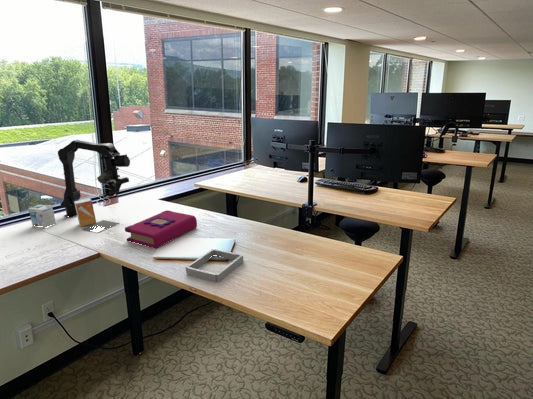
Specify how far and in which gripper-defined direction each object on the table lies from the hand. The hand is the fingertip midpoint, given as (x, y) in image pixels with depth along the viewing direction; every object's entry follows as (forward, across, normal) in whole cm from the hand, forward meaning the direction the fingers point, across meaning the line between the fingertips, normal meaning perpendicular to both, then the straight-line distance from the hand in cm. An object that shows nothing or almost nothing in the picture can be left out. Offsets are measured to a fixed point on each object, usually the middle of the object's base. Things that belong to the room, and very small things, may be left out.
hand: (115, 194), depth 215 cm
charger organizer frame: (+13, +88, -29) cm, 94 cm away
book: (+14, +43, -11) cm, 46 cm away
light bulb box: (+13, -28, -27) cm, 41 cm away
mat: (+13, +4, -16) cm, 21 cm away
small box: (+13, -6, -16) cm, 22 cm away
